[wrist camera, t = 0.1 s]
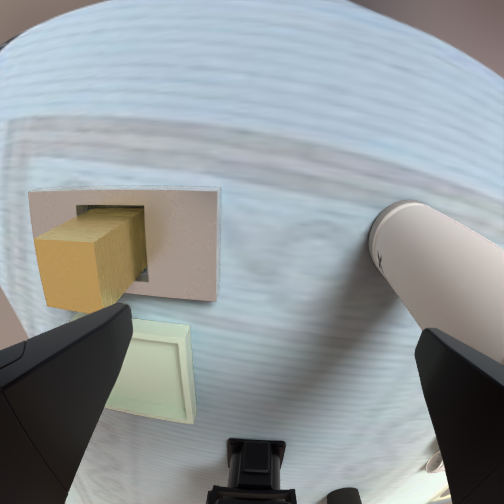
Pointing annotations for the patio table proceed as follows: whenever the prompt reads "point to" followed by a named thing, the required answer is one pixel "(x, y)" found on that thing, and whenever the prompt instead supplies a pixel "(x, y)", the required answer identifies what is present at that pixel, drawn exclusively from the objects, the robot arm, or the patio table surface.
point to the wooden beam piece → (92, 258)
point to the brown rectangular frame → (152, 232)
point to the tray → (156, 373)
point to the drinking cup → (344, 496)
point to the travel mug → (443, 274)
